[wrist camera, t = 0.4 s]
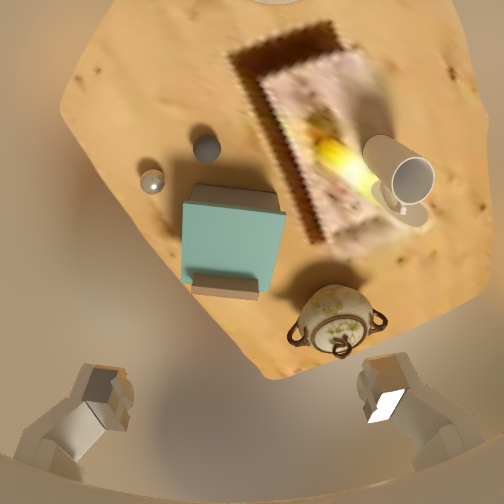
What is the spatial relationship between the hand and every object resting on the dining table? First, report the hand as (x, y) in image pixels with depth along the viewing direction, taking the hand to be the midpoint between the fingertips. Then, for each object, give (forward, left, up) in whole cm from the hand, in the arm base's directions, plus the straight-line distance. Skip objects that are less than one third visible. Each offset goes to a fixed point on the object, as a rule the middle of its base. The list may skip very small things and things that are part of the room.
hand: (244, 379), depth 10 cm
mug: (+2, +22, -40) cm, 46 cm away
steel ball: (+10, -13, -40) cm, 43 cm away
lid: (+17, 0, -33) cm, 37 cm away
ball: (+4, -5, -40) cm, 40 cm away
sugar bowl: (+32, +22, -40) cm, 56 cm away
